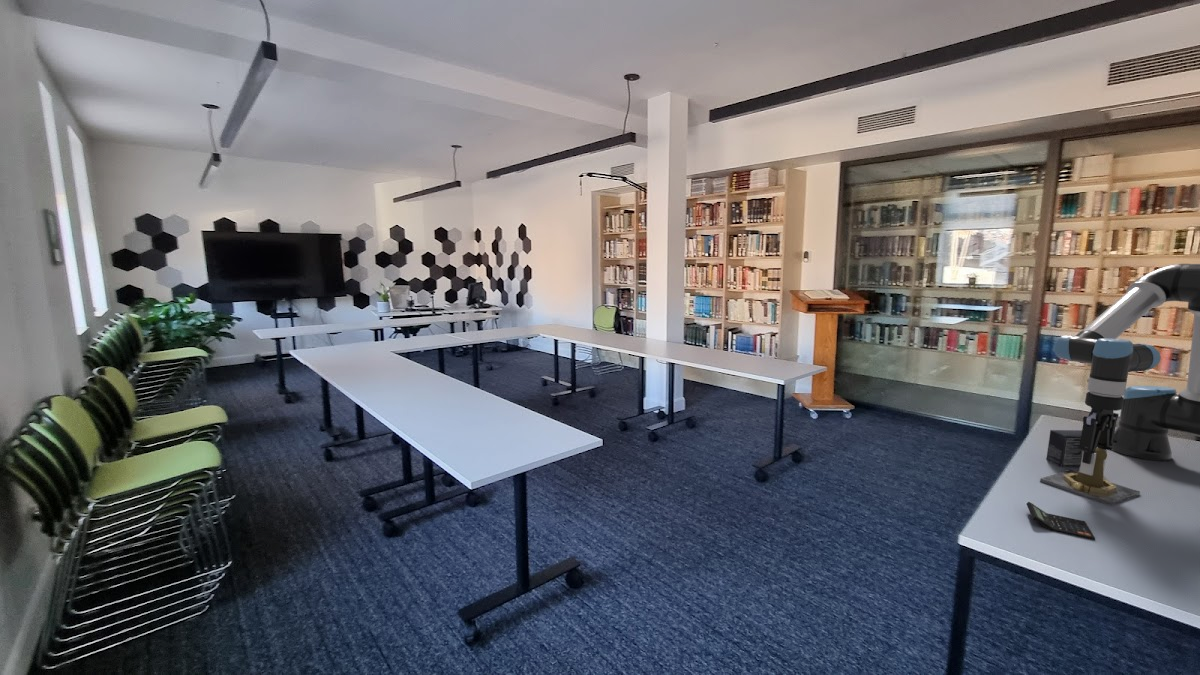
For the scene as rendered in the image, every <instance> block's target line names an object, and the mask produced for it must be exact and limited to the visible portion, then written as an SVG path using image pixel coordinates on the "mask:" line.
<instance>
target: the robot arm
mask: <svg viewBox="0 0 1200 675" xmlns="http://www.w3.org/2000/svg"><path fill="white" fill-rule="evenodd" d="M1167 302H1182V303H1183V302H1185V303H1187V310H1188V311H1189V312H1190V313H1192V314H1193V315H1194V318H1193V327H1192V335H1191V336H1192V337H1191V347H1190V354H1189V362H1188V363H1189V364H1188V372H1187V383H1186V384H1187V385H1186V388H1184V389H1182V390H1180V391H1178V392H1179V393H1178V392H1177V390H1176V388H1171V387H1166V386H1155V385H1132V386H1128V387H1127V383H1128V376H1129V373H1130V372H1144V371H1148V370H1151V369H1154V368H1156V367H1157V366H1158V365H1159V364H1160V362H1161V354H1160V351H1159V350H1158V349H1157V348H1156V347H1154V346H1153V345H1150V344H1146V343H1145V344H1144V343H1134V344H1133V342H1132V341H1131V340H1127V339H1122V338H1118V337H1120V336H1121V335H1122V334H1123V333H1124V332H1126V331H1127V330H1128V329H1129V328H1130V327H1132V326H1133V325H1134V324H1135V323H1137V321H1138V320H1140V319H1141V318H1142V317H1143V316H1145V314H1147V313H1148V312H1149V311H1150V310H1151V309H1152V308H1153V309H1154V308H1157V307H1160V306H1162V305H1164V303H1167ZM1053 351H1054V354H1055V356H1056V357H1057V358H1059V359H1060V360H1061V359H1062V360H1066V361H1071V362H1077V363H1081V364H1089V365H1090V372H1089V378H1087V379H1086V382H1087V390H1088V391H1087V392H1086V393H1085V400H1084V404H1085V405H1086V406H1088V407H1090V408H1091V410H1090V411H1089V414H1088V416H1086V415H1085V416H1083V418H1082V434H1081V439H1080V445H1079V450H1082V451H1083V454H1082V459H1081V465H1080V467H1079V468H1080V471H1079V470H1078V471H1079V472H1081V473H1084V474H1087V475H1091V476H1092V475H1093V470H1094V465H1095V459H1096V453H1095V450H1096V447H1098V448H1101V449H1103V450H1105V451H1106V453H1107V454H1108V451H1110V452H1111V451H1113V452H1117V453H1119V454H1123V455H1125V456H1129V457H1134V458H1139V459H1143V460H1150V461H1151V460H1152V461H1169V460H1171V459H1172V455H1173V454H1172V453H1173V451H1172V447H1171V444H1170V441H1169V437H1168V433H1169V430H1171V431H1175V432H1179V433H1184V434H1188V435H1190V436H1195V437H1199V438H1200V263H1176V264H1171V265H1166V266H1163V267H1160V268H1158V269H1157V268H1156V269H1155V270H1152V271H1150V272H1148V273H1146V274H1144V275H1142V276H1140V277H1138V278H1137V279H1135V280H1134V281H1133V282H1132V283H1131V284H1129V285H1128V286H1127V287H1126V289H1125V293H1124V294H1123V295H1122V296H1121V297H1120V298H1118V299H1117V300H1116V301H1115V302H1114V303H1113V304H1111V305H1110V306H1109V307H1108V308H1107V309H1106V310H1104V311H1103V312H1102V313H1101V314H1100V315H1098V316H1097V317H1096V318H1095V319H1093V321H1091V322H1090V323H1089V324H1088V325H1086V327H1084V328H1083V329H1082V330H1081V331H1079V332H1078V333H1077V334H1076V335H1074V336H1073V335H1072V334H1071V335H1061V336H1060V337H1058V338H1057V339H1056V341H1055V342H1054V346H1053ZM1177 393H1178V394H1177ZM1116 411H1120V413H1117V412H1116ZM1118 418H1119V419H1118ZM1117 422H1118V425H1117ZM1116 426H1117V427H1116ZM1106 461H1107V458H1106V459H1105V460H1104V461H1103V473H1104V470H1105V466H1106V465H1105V464H1106Z"/></svg>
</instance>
